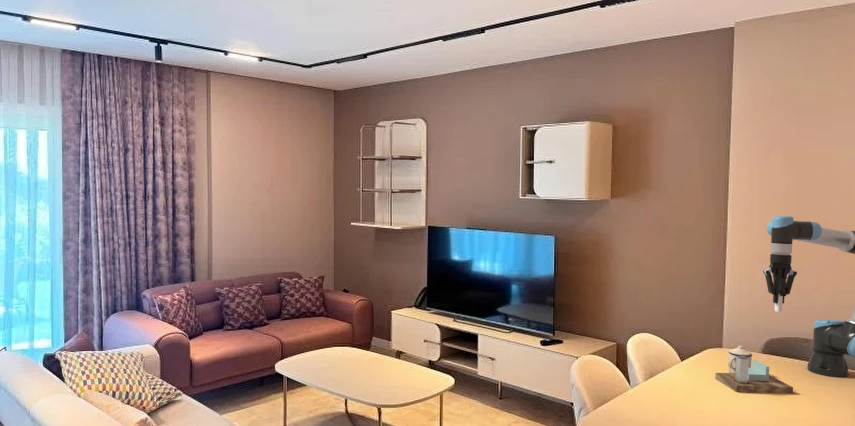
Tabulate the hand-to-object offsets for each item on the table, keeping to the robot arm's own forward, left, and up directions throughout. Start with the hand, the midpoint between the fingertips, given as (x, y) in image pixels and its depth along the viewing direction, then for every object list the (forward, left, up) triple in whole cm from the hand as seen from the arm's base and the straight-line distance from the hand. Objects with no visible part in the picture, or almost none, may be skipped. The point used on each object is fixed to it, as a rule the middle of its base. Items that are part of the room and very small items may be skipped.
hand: (778, 311), depth 249 cm
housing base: (+12, +6, -29) cm, 32 cm away
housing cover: (+11, +3, -27) cm, 29 cm away
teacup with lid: (+9, -12, -30) cm, 33 cm away
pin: (+18, +9, -29) cm, 36 cm away
